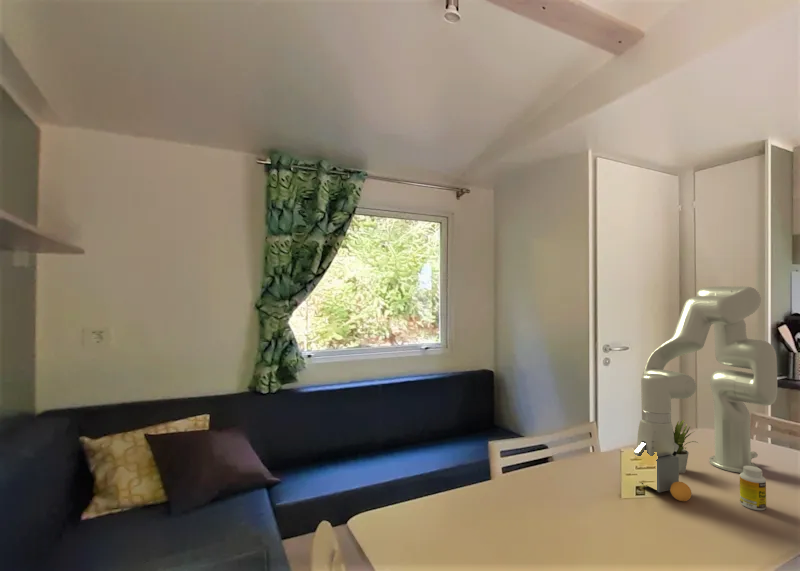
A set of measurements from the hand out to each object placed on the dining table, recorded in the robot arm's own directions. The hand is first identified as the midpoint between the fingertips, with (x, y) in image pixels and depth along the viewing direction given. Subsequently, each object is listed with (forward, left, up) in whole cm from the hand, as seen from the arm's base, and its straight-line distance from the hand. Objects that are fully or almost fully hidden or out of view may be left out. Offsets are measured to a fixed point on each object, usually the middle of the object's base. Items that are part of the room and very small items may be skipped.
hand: (657, 476), depth 129 cm
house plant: (-19, -9, -4) cm, 21 cm away
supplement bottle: (-15, +17, -4) cm, 23 cm away
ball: (0, +7, -1) cm, 7 cm away
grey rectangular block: (0, 0, -3) cm, 3 cm away
